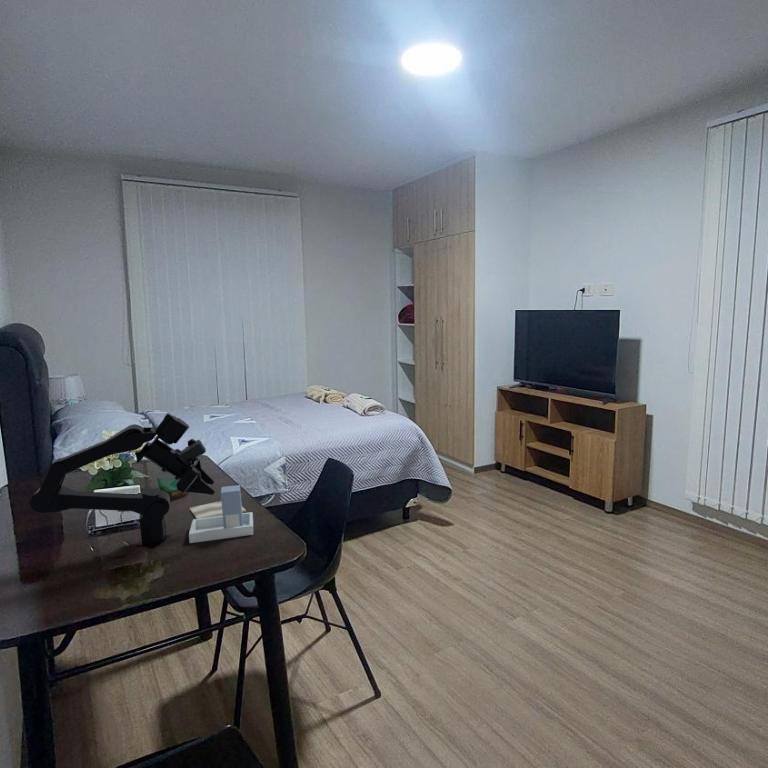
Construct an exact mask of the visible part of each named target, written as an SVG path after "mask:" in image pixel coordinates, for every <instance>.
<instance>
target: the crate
mask: <svg viewBox="0 0 768 768" xmlns="http://www.w3.org/2000/svg"><path fill="white" fill-rule="evenodd" d="M242 516H243V526H239V527H232V528H224V525H223V516H217V517H209V518H201V519H196V518H195V519H194V518H193V519H192V522H191V526H190V528H189V533H188V541H189V544H194V543H200V542H201V543H202V542H210V541H216V540H225V539H232V538H240V537H245V536H246V537H247V536H253V535H254V514H253V511H251V512H247V513H242Z"/></svg>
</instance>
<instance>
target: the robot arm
mask: <svg viewBox="0 0 768 768" xmlns="http://www.w3.org/2000/svg"><path fill="white" fill-rule="evenodd" d="M189 428H190V425H189V424H188V423H186V422H185V421H184V420H183V419H181V418H180V417H177V416H175V415H172V414H171V413H169V412H167V413H166V414H165V415H164V417H163V419H162V420H161V421H160V423H159V424H158V425H157V426H155V427H154V426H153V427H151V426H150V427H149V426H147V427H143V426H141V425H139V424H129V425H128V426H127V427H124V428H123V429H122V430H119V431H118V432H117V433H115V434H113V435H111V437H109V438H107V439H105V440H103V441H101V442H99V443H98V442H97V443H96V444H93V445H90V446H88V447H86V448H84V449H81V450H79V451H75V452H73V453H71V454H68V455H66V456H63V457H60V458H56V459H55V460H54V461H53V462H52V463H51V464H50V466H49V469H48V472H47V474H46V475H45V477H44V480H43V482H42V484H41V486H40V487H39V488H38V489H37V490H36V492H34V494H33V495H32V496H31V498H30V501H29V506H30V508H31V509H32V510H33V511H34V513H37V514H42V515H45V514H53V513H59V512H63V511H67V510H68V511H69V510H73V509H74V510H95V511H96V510H98V511H119V512H120V511H121V512H122V511H123V512H133V513H136V514H139V517H138V523H139V531H140V541H139V542H137V543H136V546H137V547H151V548H155V547H158V546H160V545H162V544H163V543H164V542H166V541H167V540H168V539H169V538H171V537H172V535H171V534H167V527H166V520H165V516H166V515H167V514H168V512H169V510H170V508H171V500H170V497H169V495H168V493H167V492H166V491H163V490H160V488H159V487H156V488H154V487H153V488H152V487H147V486H145V487H143V488H144V489H143V492H142V493H138V494H125V493H120V492H119V493H117V492H102V491H101V492H99V491H97V492H96V491H81V490H80V491H79V490H74V489H72V488H70V487H67V486H64V485H63V483H64V481H65V478H66V476H67V474H68V473H71V472H73V471H75V470H78V469H80V468H82V467H84V466H87V465H90V464H93V463H94V462H97V461H100V460H102V459H104V458H107V457H109V456H111V455H116V454H117V455H118V454H123V453H127V452H132V451H135V450H136V451H135V453H134V455H135V457H136V463H138V464H139V463H140V462H141V461H142V460H143V458H145V459H146V460H148V461H149V462H152V464H154V465H156V466H158V467H159V468H160V469H161V472H165V471H167V472H169V473H170V474H172V475H173V476H175V478H174V479H176V480H177V483H176V486H177V489H178V490H179V491H181V492H189V493H193V494H194V493H196V494H203V495H204V494H205V495H209V496H210V495H211V496H213V495H214V494H215V493H216V491H215V490H214V489H213V488H212V487H211V486H212V485H213V484H214V483H215V480H214V479H212V478H211V475H209V474H208V473H207V472H206V471H205V469H203V467H202V465H201V459H200V458H199V457H200V456H202V455H204V454H205V453H206V452H207V451H206V447H205V445H203V443H202V441H201V440H200V439H194V438H191V439H189V440H188V441H187V446H185V448H184V449H182V450H181V449H179V448H175V449H174V448H172V447H171V445H172V444H177V443H178V442H179V441H180V439H181V438H182V437H183V436H184V435H185V434H186V432H187V431H188V430H189ZM169 445H170V446H169ZM140 448H141V449H140ZM139 449H140V450H139Z"/></svg>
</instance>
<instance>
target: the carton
mask: <svg viewBox="0 0 768 768" xmlns="http://www.w3.org/2000/svg"><path fill="white" fill-rule="evenodd" d="M241 491H242V490H241V485H240V484H238V485H228V486H227V485H226V486H221V491H220V498H221V499H220V501H222V513H223V525H224V528H232V527H239V526H243V516H242V507H243V505H242V494H241V493H242V492H241Z"/></svg>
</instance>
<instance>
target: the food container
mask: <svg viewBox="0 0 768 768" xmlns="http://www.w3.org/2000/svg"><path fill="white" fill-rule="evenodd" d="M154 478H155V479H156V480H157V486H158V488H160V490H163V491H166V492H167V493H168V495H169V497H170V501H175V500H179V499H183V498H186V497H187V496H188V495H189V493H190V492H181V491H179V490H178V489H177V486H176V483H177V480H176V479H174V478H175V476H173V475H172V474H170V473H169V472H167V471H165V472H163V471H155V474H154Z"/></svg>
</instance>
